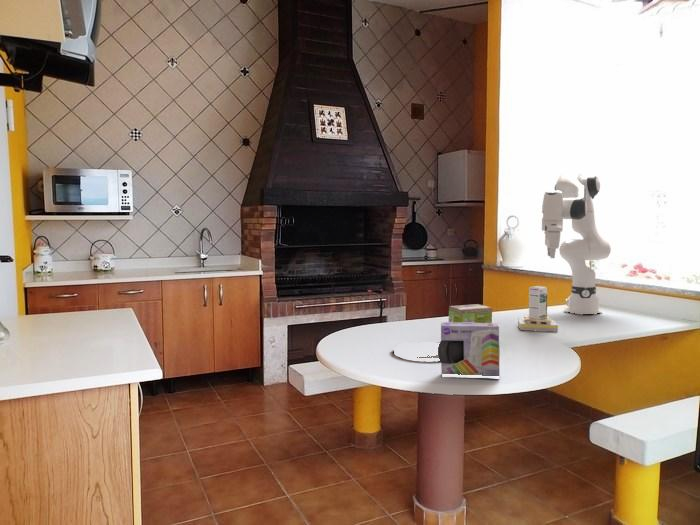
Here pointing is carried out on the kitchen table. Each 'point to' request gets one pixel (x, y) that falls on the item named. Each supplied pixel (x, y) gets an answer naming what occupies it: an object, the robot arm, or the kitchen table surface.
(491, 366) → the cake pan box
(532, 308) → the syrup box
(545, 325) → the dock
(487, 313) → the tea box
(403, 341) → the kitchen table surface
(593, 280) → the robot arm
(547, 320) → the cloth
